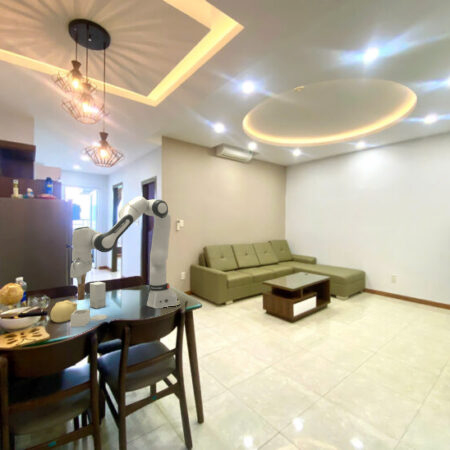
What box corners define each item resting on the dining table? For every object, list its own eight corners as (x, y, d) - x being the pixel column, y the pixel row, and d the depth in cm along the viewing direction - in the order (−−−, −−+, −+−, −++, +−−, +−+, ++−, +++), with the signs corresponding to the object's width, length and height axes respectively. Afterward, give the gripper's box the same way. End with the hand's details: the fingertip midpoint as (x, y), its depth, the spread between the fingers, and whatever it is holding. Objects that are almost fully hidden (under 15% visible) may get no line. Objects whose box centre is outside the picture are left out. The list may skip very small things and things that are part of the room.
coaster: (109, 315, 144) (109, 314, 144) (105, 321, 135) (105, 320, 135) (93, 316, 142) (93, 315, 142) (87, 322, 133) (87, 321, 133)
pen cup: (89, 321, 134) (90, 309, 134) (85, 327, 127) (85, 314, 127) (76, 322, 132) (76, 309, 132) (70, 328, 126) (70, 314, 126)
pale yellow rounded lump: (79, 316, 141) (80, 297, 141) (67, 324, 129) (67, 304, 129) (59, 316, 141) (60, 297, 141) (45, 324, 129) (45, 304, 129)
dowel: (85, 298, 132) (86, 270, 132) (83, 300, 128) (83, 272, 128) (78, 298, 131) (79, 270, 131) (76, 300, 128) (76, 272, 127)
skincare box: (105, 306, 158) (106, 282, 158) (95, 309, 153) (96, 284, 152) (99, 303, 163) (99, 280, 163) (89, 306, 157) (89, 282, 157)
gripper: (80, 259, 120) (80, 287, 120) (94, 254, 140) (94, 278, 140) (66, 260, 119) (66, 288, 119) (82, 254, 139) (82, 278, 139)
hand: (81, 282), depth 130 cm, fingers closed on dowel, 3 cm apart
